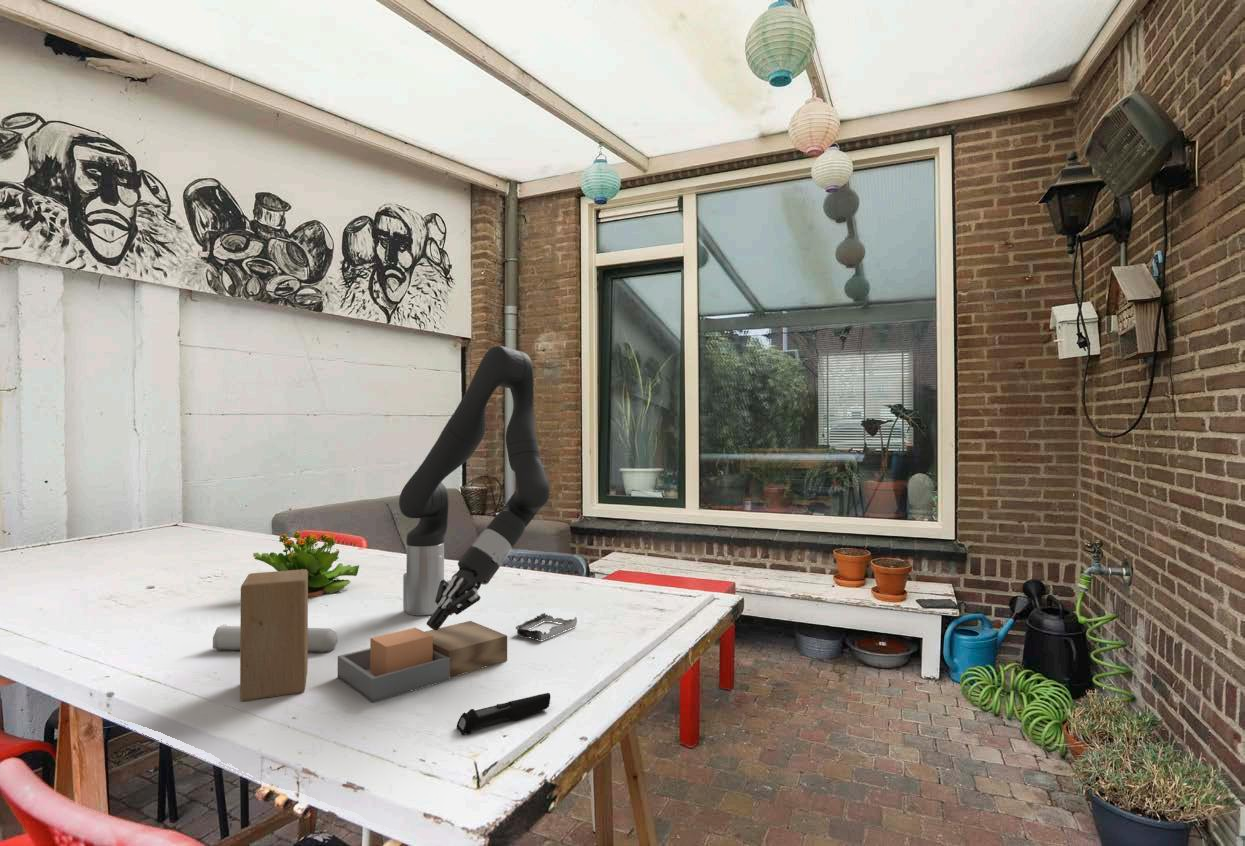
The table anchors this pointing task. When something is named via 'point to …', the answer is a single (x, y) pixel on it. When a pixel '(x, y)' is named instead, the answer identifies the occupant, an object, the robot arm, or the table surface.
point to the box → (390, 675)
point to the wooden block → (273, 634)
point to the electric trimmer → (502, 713)
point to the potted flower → (311, 562)
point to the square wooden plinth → (469, 646)
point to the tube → (317, 639)
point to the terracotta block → (400, 651)
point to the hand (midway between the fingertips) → (431, 627)
